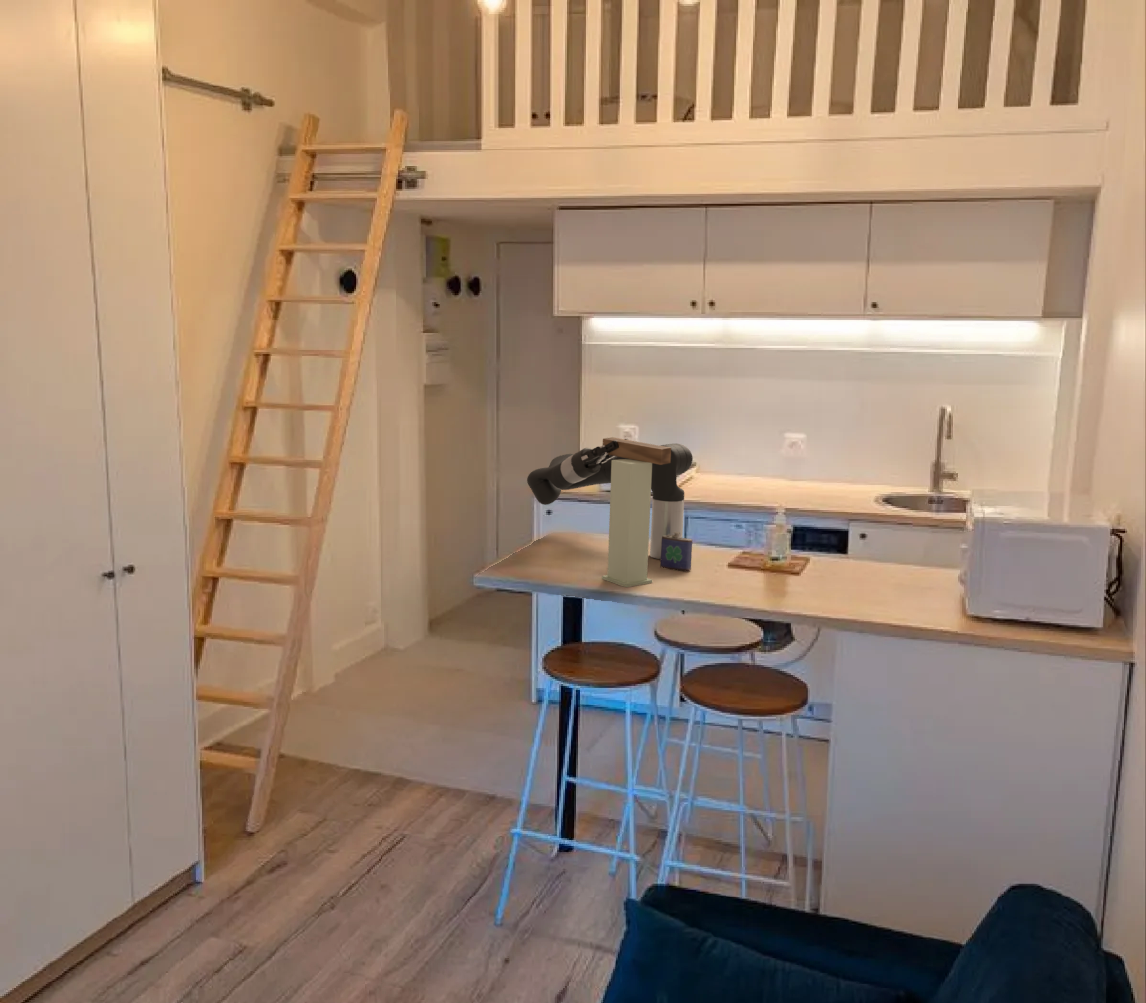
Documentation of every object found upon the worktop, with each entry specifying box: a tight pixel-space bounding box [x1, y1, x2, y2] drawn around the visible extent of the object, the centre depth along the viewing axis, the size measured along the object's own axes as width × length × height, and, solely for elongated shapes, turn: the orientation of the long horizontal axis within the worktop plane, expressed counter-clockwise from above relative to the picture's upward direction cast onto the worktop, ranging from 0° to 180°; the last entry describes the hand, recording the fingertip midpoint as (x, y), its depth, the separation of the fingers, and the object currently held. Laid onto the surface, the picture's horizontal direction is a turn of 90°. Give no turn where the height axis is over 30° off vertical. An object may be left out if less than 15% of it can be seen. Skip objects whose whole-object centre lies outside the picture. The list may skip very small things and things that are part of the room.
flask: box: [659, 532, 693, 572], centre depth 283 cm, size 9×3×11 cm, turn 60°
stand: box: [601, 459, 653, 588], centre depth 266 cm, size 9×10×32 cm
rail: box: [602, 436, 671, 465], centre depth 267 cm, size 4×20×4 cm, turn 47°
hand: (622, 442), depth 270 cm, fingers closed on rail, 4 cm apart
